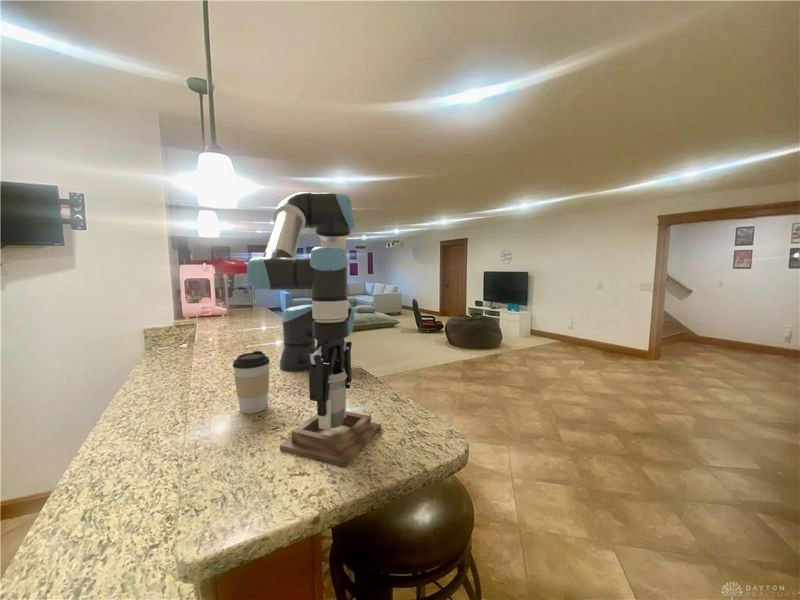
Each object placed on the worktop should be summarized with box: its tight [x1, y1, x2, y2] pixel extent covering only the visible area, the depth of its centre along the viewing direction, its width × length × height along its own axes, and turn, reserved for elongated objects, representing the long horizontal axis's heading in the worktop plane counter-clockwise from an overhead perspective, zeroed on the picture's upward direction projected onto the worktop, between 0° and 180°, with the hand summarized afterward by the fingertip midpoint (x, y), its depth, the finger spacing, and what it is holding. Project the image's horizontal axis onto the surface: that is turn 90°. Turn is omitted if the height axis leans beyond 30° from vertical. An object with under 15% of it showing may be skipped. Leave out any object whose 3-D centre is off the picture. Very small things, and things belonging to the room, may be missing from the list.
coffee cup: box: [232, 350, 271, 414], centre depth 87 cm, size 9×9×15 cm
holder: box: [279, 410, 382, 468], centre depth 72 cm, size 16×16×4 cm
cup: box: [328, 368, 347, 428], centre depth 71 cm, size 7×7×12 cm
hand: (332, 421), depth 72 cm, fingers closed on cup, 5 cm apart
